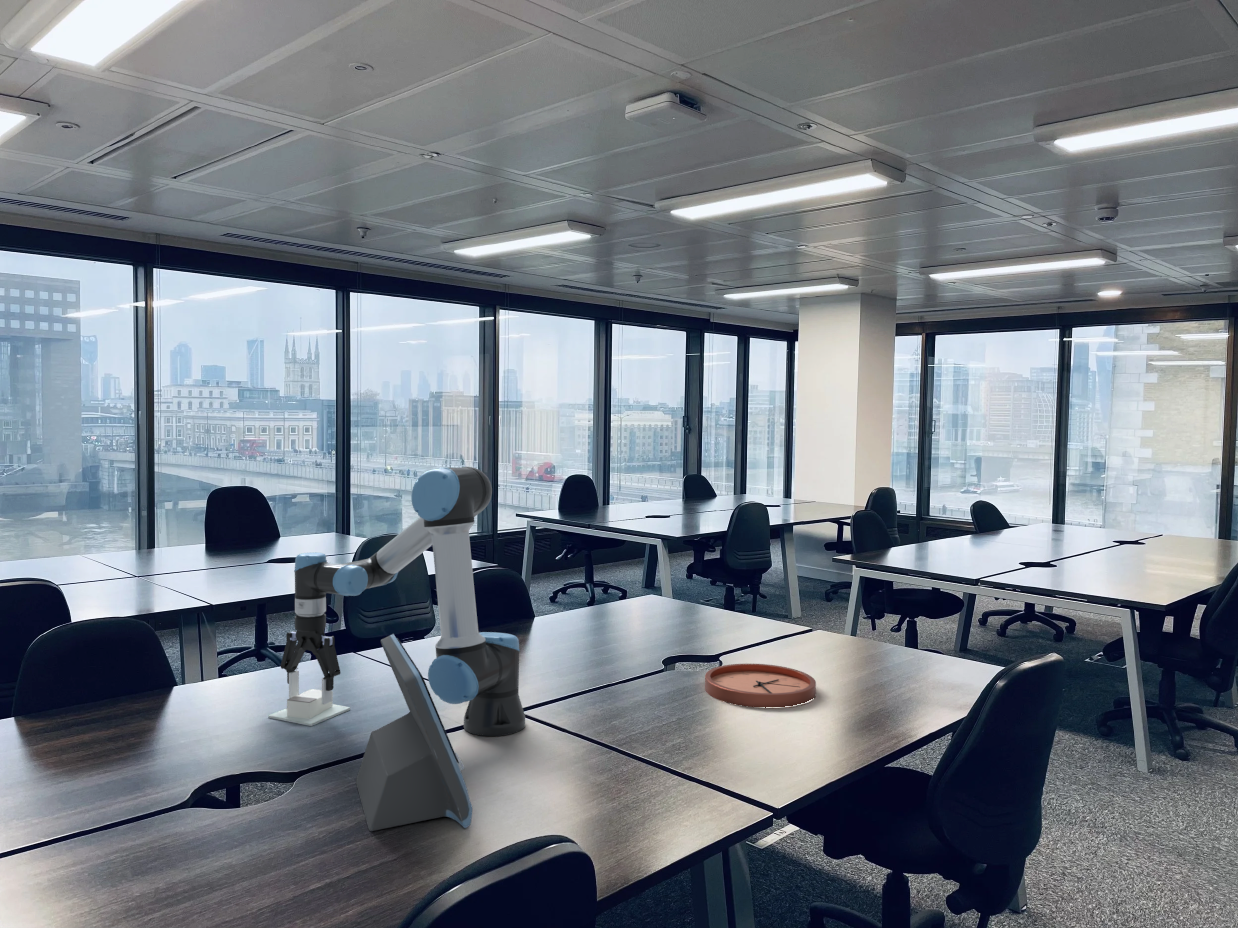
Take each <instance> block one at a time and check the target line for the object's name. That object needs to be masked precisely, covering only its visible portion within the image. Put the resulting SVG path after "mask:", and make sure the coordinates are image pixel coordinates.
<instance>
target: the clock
mask: <svg viewBox="0 0 1238 928" xmlns="http://www.w3.org/2000/svg"><path fill="white" fill-rule="evenodd" d="M816 688H817V682H816V680H815V678H814V677H812V676H811V675H810V674H808V673H806V672H804V671H801V670H797V669H795V668H791V667H787V666H782V665H781V666H780V665H777V664H776V665H775V664H774V665H773V664H765V663H734V664H724V665H721V666H716V667H714V668H711V669H709V670H707V671H706V672H705V675H704V690H705V691H704V692H705V693H706V694H708V696H710V697H712V698H713V699H716V700H717V701H718V700H719V701H721V702H723V701H724V703H727V704H730V703H731V704H730V705H734V704H736V705H735V706H739V705H742V707H746V706H748V707H747V708H754V707H765V708H764V709H767V708H766V707H785V706H793V705H797V704H801V703H805V702H807V701H809V700H811V699H813V698H814V697H815V698H816V696H815V694H817V693H816V692H817V689H816Z"/></svg>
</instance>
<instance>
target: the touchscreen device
mask: <svg viewBox="0 0 1238 928" xmlns="http://www.w3.org/2000/svg"><path fill="white" fill-rule="evenodd" d="M380 644H381V647H382V649H383V652H384V654H385V656H386V658H387V660H388V663H389V666H390V668H391V670H392V673H393V676H394V677H395V679H396V681H397V684H398V686H399V689H400V691H401V694H402V695H403V698H404V700H405V704H406V705H407V708H408V710H409V712H408V713H407V714H405V715H403V716H401V717H398V718H397V719H395V720H393V721H391V722H388V723H387V724H385V725H384V726H381V727H380V728H378V729H374V730H373V731H371V732H370V735H369V739H368V740H367V744H366V749H365V752H364V753H363V758H362V760H361V764H360V767H359V770H358V773H357V776H356V779H355V783H356V784H355V785H356V788H357V791H358V796H359V798H360V802H361V803H360V804H361V806H362V809H363V814H364V817H365V822H366V824H367V828H368V831H370V832H373V831H374V832H375V831H380V830H385V829H390V828H394V827H399V826H405V825H409V824H413V823H418V822H423V821H428V820H433V819H437V818H438V819H439V818H442V817H447V818H450V819H452V820H453V821H455V822H457V823H458V824H459V825H461V826H462V827H463V829H467V828H468V827H469V826H471V823H472V818H473V806H472V802H471V800H470V795H469V792H468V788H467V787H468V786H467V785H466V783H465V780H464V777H463V774H462V771H463V770H464V769H465V765H464V763H463V761H462V759H461V758H460V756H459V754H458V753H457V752H455V750H454V748H453V745H452V742H451V741H450V738H449V735H448V733H447V730H446V728H445V726H444V724H443V721H442V719H441V717H440V714H439V712H438V709H437V708H436V705H435V703H434V700H433V698H432V696H431V692H430V690H429V687H428V685H427V684H426V681H425V678H424V677H423V674H422V672H420V670H419V668H418V667H417V665H416V663H415V662H414V660H413V659H412V657H411V656H410V655H409V653H408V652H407V650H406V648H405V647H404V645H403V644H402V642H401V640H400V639H399V638H398V637H396V636H395V634H394V633H392V634H390V635H388V636H386V637H383V638H382V639H380Z"/></svg>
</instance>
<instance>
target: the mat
mask: <svg viewBox="0 0 1238 928" xmlns="http://www.w3.org/2000/svg"><path fill="white" fill-rule="evenodd" d="M350 710H351V707H350V706H345V705H341V704H340V705H339V704H334V703H333V707H331V708H329V709H327V710H325V711H323V712H321V713H319V714H318V715H316V716H314V717H312V718H310V719H307V718H299V717H290V716H287V707H286V708H284V709H281V710H279V711H275V712H274V713H271V714H268V715H267V717H268V718H269V719H274V720H279V721H285V722H290V723H294V724H299V725H304V726H310V727H313V726H315V725H317V724H319V723H322V722H325V721H327V720H329V719H331V718H334V717H336V716H339V715H341V714H344V713H346V712H348V711H350Z"/></svg>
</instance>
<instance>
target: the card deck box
mask: <svg viewBox="0 0 1238 928" xmlns="http://www.w3.org/2000/svg"><path fill="white" fill-rule="evenodd" d="M333 696H334V691H333V690H332V701H331V702H329V703H326V704H322V689H313V688H310V689H308V690H305V691H304V692H302V693H299V695H297V696H294V697H291V698H289V697H288V698H287V699H286V708H287V716H290V717H299V718H307V719H310V718H312V717H314V716H316V715H318V714H319V713H321V712H323V711H325V710H327V709H329V708H331V707H333V704H334V701H333V699H334V697H333Z"/></svg>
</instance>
